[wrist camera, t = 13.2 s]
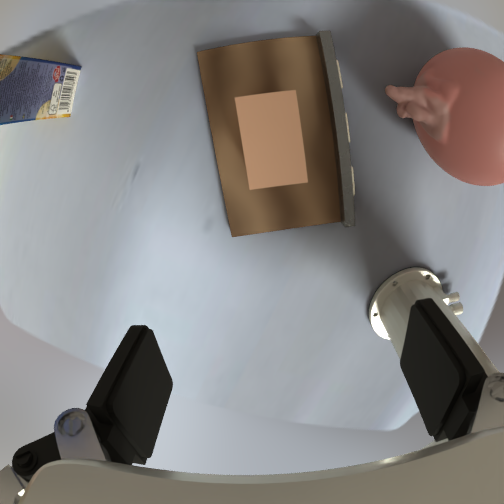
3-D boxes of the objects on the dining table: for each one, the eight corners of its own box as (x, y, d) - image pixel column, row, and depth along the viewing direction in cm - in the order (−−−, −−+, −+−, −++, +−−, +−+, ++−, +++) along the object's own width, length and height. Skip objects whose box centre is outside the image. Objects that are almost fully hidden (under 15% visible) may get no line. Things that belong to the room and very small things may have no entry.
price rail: (326, 38, 27) (333, 30, 24) (349, 216, 36) (358, 225, 33) (313, 39, 27) (319, 30, 24) (337, 217, 36) (345, 227, 33)
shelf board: (313, 39, 27) (315, 35, 26) (337, 217, 36) (340, 221, 35) (199, 54, 28) (196, 52, 27) (233, 232, 37) (232, 237, 36)
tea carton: (296, 168, 32) (308, 182, 25) (251, 174, 33) (249, 189, 26) (286, 97, 29) (296, 89, 22) (239, 103, 30) (234, 97, 22)
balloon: (356, 33, 27) (415, -11, 13) (482, 77, 27) (560, 78, 13) (348, 154, 33) (408, 180, 19) (473, 179, 33) (548, 214, 19)
